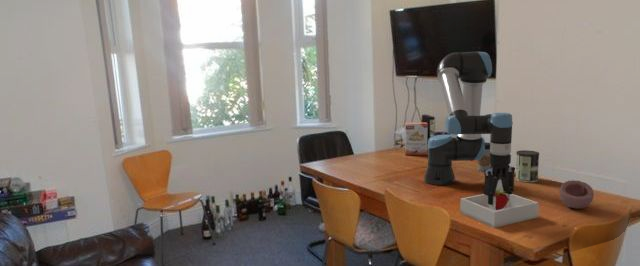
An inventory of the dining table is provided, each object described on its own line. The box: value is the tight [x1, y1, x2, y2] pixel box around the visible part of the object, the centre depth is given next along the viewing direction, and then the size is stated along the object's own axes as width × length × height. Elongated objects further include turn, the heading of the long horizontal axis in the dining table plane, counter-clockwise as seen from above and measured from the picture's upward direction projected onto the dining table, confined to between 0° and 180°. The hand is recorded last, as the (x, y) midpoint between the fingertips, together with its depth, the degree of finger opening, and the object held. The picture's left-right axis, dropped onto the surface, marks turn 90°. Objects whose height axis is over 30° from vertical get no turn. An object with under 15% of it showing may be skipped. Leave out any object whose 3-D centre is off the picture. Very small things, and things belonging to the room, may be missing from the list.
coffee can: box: [515, 149, 540, 183], centre depth 218 cm, size 10×10×14 cm
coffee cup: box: [476, 142, 491, 173], centre depth 238 cm, size 8×8×15 cm
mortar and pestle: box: [558, 179, 595, 210], centre depth 176 cm, size 12×12×11 cm
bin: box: [459, 191, 540, 228], centre depth 171 cm, size 18×22×6 cm
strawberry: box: [494, 188, 508, 210], centre depth 171 cm, size 6×8×10 cm
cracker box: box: [404, 122, 429, 156], centre depth 283 cm, size 14×6×21 cm, turn 81°
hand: (498, 210), depth 172 cm, fingers closed on strawberry, 6 cm apart
